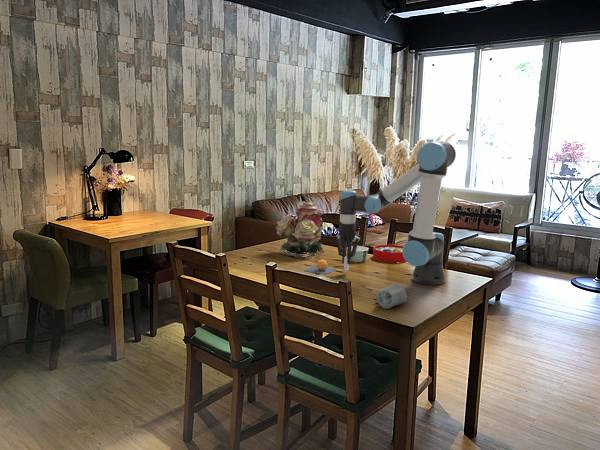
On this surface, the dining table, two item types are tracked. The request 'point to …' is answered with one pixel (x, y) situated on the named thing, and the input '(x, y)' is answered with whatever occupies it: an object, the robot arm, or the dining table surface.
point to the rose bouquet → (302, 230)
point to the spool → (391, 296)
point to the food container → (360, 254)
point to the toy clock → (388, 253)
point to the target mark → (316, 270)
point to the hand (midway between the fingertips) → (346, 270)
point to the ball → (321, 265)
